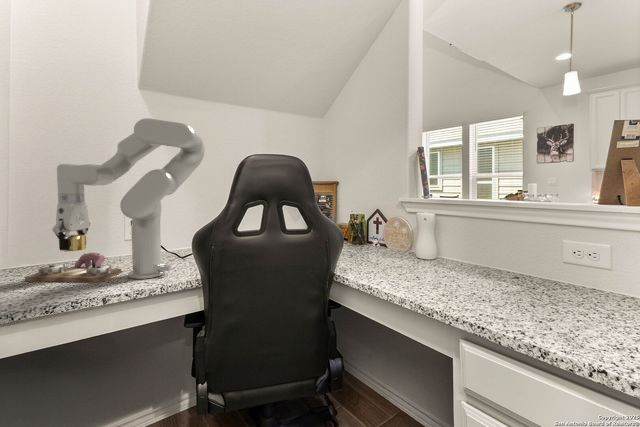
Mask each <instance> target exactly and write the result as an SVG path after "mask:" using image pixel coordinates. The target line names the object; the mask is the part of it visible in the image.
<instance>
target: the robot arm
mask: <svg viewBox="0 0 640 427" xmlns="http://www.w3.org/2000/svg"><path fill="white" fill-rule="evenodd" d="M161 146H166V147H175V148H179V149H180V151H179V152H178V153H177V154H176V155H174V156H173V157H172V159H170V160H169V162H167V163H166V164H165V165H164V166H163V167H162V168H161V169H160V168H158V169H157V168H155V169H152V170H149V171H148V172H147V173H145V174H144V175H142V177H141V178H140V179H139V180H138V181H137V182H136V183H135V184H134V185H133V186H132V187H131V188H130V189H129V190H128V191H127V192H126V193H125V195H124V196H123V197H122V199H121V200H120V206H119V207H120V208H119V209H120V211H121V213H122V214H123V215H124V216H125V217H126V218H129V219H131V230H130V231H131V255H132V258H131V260H132V270H131V271H129V272H128V273H127V276H128V278H131V279H135V280H141V279H142V280H144V279H151V278H158V277H161V276H163V275H165V274H167V273H166V272H171V270H172V266H171V264H165V262H164V261H163V260H162V248H161V247H162V246H161V239H162V238H161V217H162V216H161V215H162V202H161V201H162V200H163V199H164V198H165V197H166V196H171V195H173V194H174V193H175V192H177V190H178V189H179V188H180V187H181V185H182V184H183V183H185V181H187V179H188V178H189V177H190V176H191V175H192V174H193V172H194V171H195V170H196V169H197V168H198V167H199V166H200V165H201V163H202V161H203V160H204V156H205V144H204V141H203V138H202V136H201V135H200V133H199V132H197V130H195V129H194V128H193V127H191V126H190V125H188V124H186V123H183V122H178V121H177V122H176V121H169V120H161V119H157V118H156V119H155V118H149V117H146V118H145V117H144V118H141V119H139V120H137V122H135V124H134V126H133V133H131V134H130V135H128V136H127V137H125V138H124V139H122V140H120V141H119V142H118V143H117V150H116V153H115V154H114V155H113V156H112V157H111V158H109V159H108V160H107V161H105V162H104V163H101V164H93V163H92V164H91V163H90V164H89V163H86V164H75V163H73V164H72V163H71V164H69V163H61V164H60V163H59V164H58V165H57V166H56V182H57V201H58V202H57V206H56V216H55V218H56V219H55V222H56V224H55V225H54V226H53V227H52V232H53V234H55V236H56V237H57V239H58V244H59V245H58V248H59V251H60V250H69V249H70V241H69V239H67V238H68V236H69V235H70V233H71V232H76V234H77V235H78V234H82V235H85V238H86V239H87V235H88V231H89V227H90V226H91V223H90V218H89V210H88V206H87V203H86V201H85V199H86V198H85V186H89V187H90V186H91V187H92V186H107V185H109V184H112V183H113V182H116V181H117V180H118V179H120V178H121V177H123V176H124V175H125V174H127V173H128V172H129V171H130V170H131V169H132V168H133V167H134V166H135V165H136V163H138V161H140V160H142V159H144V158H145V157H146V156H147V155H150V154H151V153H152V152H153V151H155V150H156V149H158V148H160V147H161Z"/></svg>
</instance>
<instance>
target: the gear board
mask: <svg viewBox="0 0 640 427" xmlns="http://www.w3.org/2000/svg"><path fill="white" fill-rule="evenodd" d="M91 262H92V265H91V266H89V267H85V268H84V267H79V268H75V267H66V265H65V264H51V265H50V264H49V265H44V266H40V267H39V268H37V271H38V272H35V273H33V274H30V275H27V276H26V275H25V276H24V281H25V282H57V283H59V282H62V283H63V282H66V283H69V282H70V283H102V282H104V281H106V280H108V279H111V278H113V277H115V276H118V275H119V274H121V273H122V272H123V271H122V268H112V267H111V265H109V264H108V265H103V264H102V265H98V266H95V259H92V260H91Z"/></svg>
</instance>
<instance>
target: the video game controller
mask: <svg viewBox="0 0 640 427" xmlns="http://www.w3.org/2000/svg"><path fill="white" fill-rule="evenodd" d="M92 259H95V266H98V265H103V263H104V262H105V260H106V256H105V255H103V254H101V253H99V252H89V253H83V254H82V255H81V256H80V257H79V258H78V260H77V261H76V262H75V263H74V268H81V266H83V265H84V266H85V267H86V268H88V267H92Z"/></svg>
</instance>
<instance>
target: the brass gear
mask: <svg viewBox="0 0 640 427" xmlns="http://www.w3.org/2000/svg"><path fill="white" fill-rule="evenodd" d="M67 239H69V241H70V249H69V250H60V249H59V251H60V252H64V253H65V252H78V251H84V250H85V249H86V248H87V247H86V246H87V237H86V238H85V235H82V234H78V233H77V234H69V236H68V238H67Z"/></svg>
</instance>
